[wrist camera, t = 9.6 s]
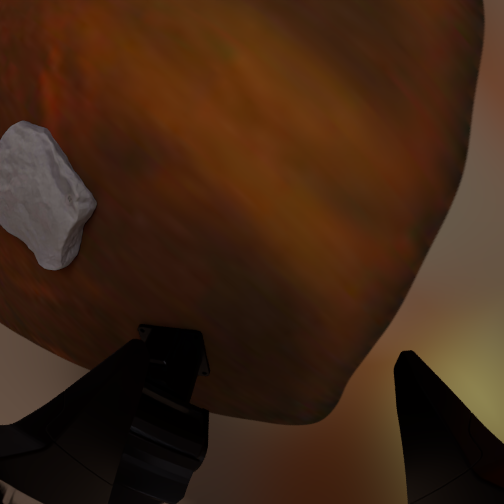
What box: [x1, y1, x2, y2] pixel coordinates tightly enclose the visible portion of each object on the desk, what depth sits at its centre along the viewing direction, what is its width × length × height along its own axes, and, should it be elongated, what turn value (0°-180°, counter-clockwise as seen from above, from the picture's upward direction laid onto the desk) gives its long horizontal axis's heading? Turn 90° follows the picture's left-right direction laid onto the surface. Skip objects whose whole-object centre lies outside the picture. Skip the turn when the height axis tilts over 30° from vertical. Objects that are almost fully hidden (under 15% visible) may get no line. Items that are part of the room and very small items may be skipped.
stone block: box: [0, 121, 97, 270], centre depth 19 cm, size 12×5×10 cm
